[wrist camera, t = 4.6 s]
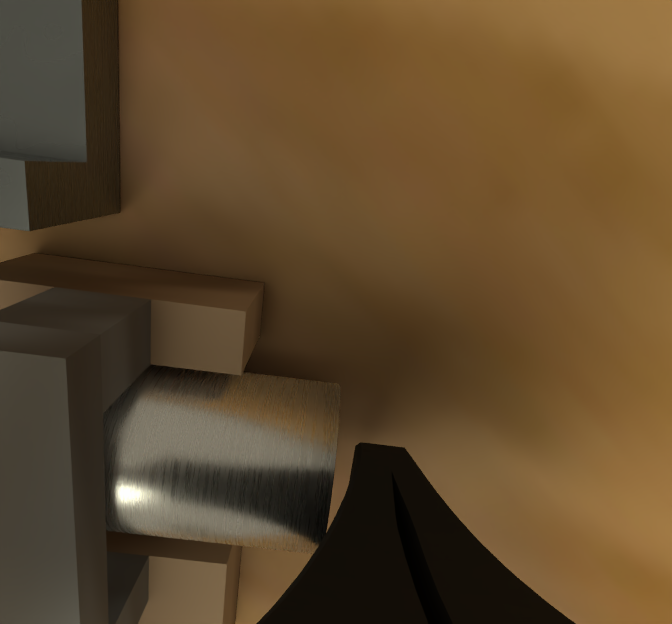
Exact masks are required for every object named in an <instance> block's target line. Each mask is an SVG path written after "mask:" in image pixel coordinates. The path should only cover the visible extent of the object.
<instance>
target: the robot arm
mask: <svg viewBox="0 0 672 624" xmlns="http://www.w3.org/2000/svg"><path fill="white" fill-rule="evenodd" d="M257 624H575V623H574V622H573V621H571V620H570V619H568V618H567V617H566V616H564V615H563V614H562V613H561V612H559V611H558V610H557V609H555V608H554V607H553V606H551V605H550V604H549V603H548V602H546V601H545V600H544V599H543V598H541V597H540V596H539V595H538V594H537V593H535V592H534V591H533V590H532V589H531V588H529V587H528V586H527V585H526V584H525V583H523V582H522V581H521V580H520V579H519V578H517V577H516V576H515V575H514V574H513V573H512V572H511V571H510V570H508V569H507V568H506V567H505V566H504V565H503V564H502V563H501V562H500V561H499V560H498V559H497V558H496V557H495V556H494V555H493V554H492V553H491V552H490V551H489V550H488V549H486V548H485V547H484V546H483V545H482V544H481V543H480V542H479V540H478V539H477V538H476V537H475V536H474V535H473V534H472V533H471V532H470V531H469V530H468V529H467V527H466V526H465V525H464V524H463V523H462V522H461V521H460V520H459V518H458V517H457V516H456V515H455V514H454V513H453V512H452V510H451V509H450V508H449V507H448V506H447V504H446V503H445V502H444V500H443V499H442V498H441V497H440V495H439V494H438V493H437V492H436V490H435V489H434V488H433V486H432V485H431V484H430V482H429V481H428V480H427V478H426V477H425V475H424V474H423V473H422V471H421V470H420V468H419V467H418V466H417V464H416V463H415V461H414V460H413V459H412V457H411V456H410V455H409V453H408V452H407V450H406V449H405V448H403V447H395V446H387V445H379V444H370V443H362V442H360V443H359V444H357V445H356V446H355V452H354V458H353V464H352V469H351V475H350V481H349V486H348V489H347V491H346V494H345V496H344V499H343V501H342V503H341V505H340V507H339V509H338V512H337V514H336V516H335V518H334V520H333V522H332V524H331V526H330V527H329V529H328V531H327V533H326V535H325V536H324V538H323V540H322V541H321V543H320V545H319V546H318V548H317V549H316V551H315V552H314V554H313V555H312V557H311V558H310V560H309V561H308V563H307V564H306V566H305V567H304V568H303V570H302V571H301V573H300V574H299V575H298V577H297V578H296V579H295V580H294V582H293V583H292V584H291V585H290V586H289V588H288V589H287V590H286V591H285V593H284V594H283V595H282V596H281V598H280V599H279V600H278V601H277V602H276V604H275V605H274V606H273V607H272V608H271V609H270V610H269V611H268V612H267V613H266V614H265V615H264V616H263V617H262V619H261V620H260V621H259V622H258V623H257Z"/></svg>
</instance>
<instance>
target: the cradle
mask: <svg viewBox="0 0 672 624" xmlns="http://www.w3.org/2000/svg"><path fill="white" fill-rule="evenodd" d="M116 213H120V155H119V77H118V0H0V227H2V228H10V229H17V230H25V231H33V230H38V229H42V228H47V227H52V226H57V225H62V224H67V223H72V222H77V221H82V220H87V219H92V218H97V217H102V216H107V215H111V214H116Z"/></svg>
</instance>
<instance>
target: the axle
mask: <svg viewBox="0 0 672 624" xmlns="http://www.w3.org/2000/svg"><path fill="white" fill-rule="evenodd" d="M339 413H340V384H336V383H328V382H320V381H312V380H304V379H296V378H288V377H280V376H272V375H264V374H256V373H248V372H243V373H242V375H233V374H225V373H217V372H209V371H201V370H193V369H185V368H177V367H169V366H160V365H152V364H150V365H149V366H148V367H147V368H146V369H145V370H144V371H143V373H142V374H141V375H140V376H139V377H138V378H137V379H136V380H135V381H134V382H133V383H132V384H131V385H130V386H129V387H128V388H127V389H126V390H125V391H124V392H123V393H122V394H121V395H120V396H119V397H118V398H117V399H116V400H115V402H114V403H113V404H112V405H111V406H110V407H109V408H108V409H107V410H106V411H105V412H104V413H103V440H104V475H105V511H106V531H113V532H122V533H131V534H140V535H149V536H158V537H167V538H176V539H185V540H194V541H203V542H212V543H221V544H230V545H239V546H248V547H256V548H265V549H274V550H283V551H292V552H301V553H310V554H314V552H315V551H316V549H317V548H318V546H319V545H320V543H321V541H322V540H323V538H324V536H325V535H326V530H327V524H328V517H329V510H330V503H331V495H332V487H333V479H334V470H335V460H336V450H337V440H338V428H339Z"/></svg>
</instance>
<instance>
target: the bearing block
mask: <svg viewBox="0 0 672 624" xmlns="http://www.w3.org/2000/svg"><path fill="white" fill-rule="evenodd" d="M264 285H265V283H261V282H254V281H246V280H238V279H231V278H223V277H215V276H208V275H200V274H192V273H185V272H177V271H169V270H162V269H154V268H146V267H138V266H131V265H123V264H115V263H108V262H100V261H92V260H85V259H77V258H69V257H62V256H54V255H46V254H39V253H33V254H29V255H26V256H22V257H19V258H15V259H11V260H8V261H4V262H1V263H0V624H235V619H236V607H237V596H238V584H239V573H240V561H241V550H242V546H239V545H230V544H221V543H212V542H203V541H194V540H185V539H176V538H167V537H158V536H149V535H140V534H131V533H122V532H113V531H106V511H105V475H104V440H103V413H104V412H105V411H106V410H107V409H108V408H109V407H110V406H111V405H112V404H113V403H114V402H115V400H116V399H117V398H118V397H119V396H120V395H121V394H122V393H123V392H124V391H125V390H126V389H127V388H128V387H129V386H130V385H131V384H132V383H133V382H134V381H135V380H136V379H137V378H138V377H139V376H140V375H141V374H142V373H143V371H144V370H145V369H146V368H147V367H148V366H149V365H150V364H152V365H160V366H169V367H177V368H185V369H193V370H201V371H209V372H217V373H225V374H233V375H242V373H243V370H244V368H245V366H246V364H247V362H248V360H249V358H250V356H251V354H252V352H253V349H254V347H255V345H256V343H257V341H258V339H259V337H260V331H261V319H262V308H263V296H264Z"/></svg>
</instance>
